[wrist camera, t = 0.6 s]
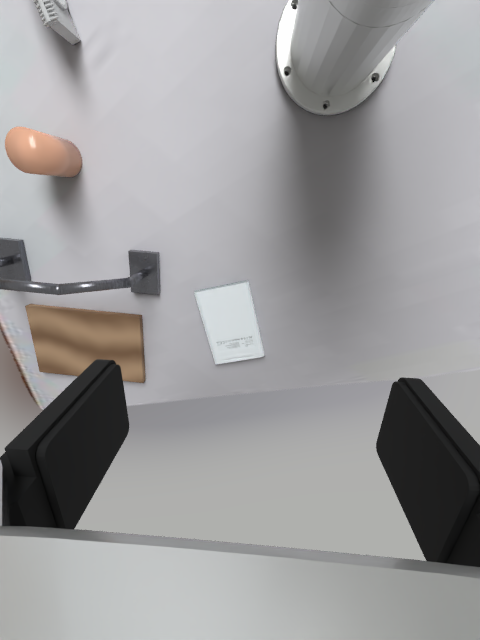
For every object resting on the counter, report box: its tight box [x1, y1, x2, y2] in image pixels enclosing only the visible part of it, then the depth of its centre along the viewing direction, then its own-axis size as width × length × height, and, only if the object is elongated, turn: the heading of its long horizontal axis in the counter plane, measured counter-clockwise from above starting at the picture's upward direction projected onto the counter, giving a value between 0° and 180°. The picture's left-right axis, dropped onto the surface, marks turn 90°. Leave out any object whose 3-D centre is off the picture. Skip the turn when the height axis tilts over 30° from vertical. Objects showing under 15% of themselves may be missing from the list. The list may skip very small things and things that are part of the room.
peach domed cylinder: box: [5, 127, 82, 177], centre depth 35 cm, size 4×4×7 cm
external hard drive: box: [194, 280, 264, 364], centre depth 45 cm, size 2×8×12 cm
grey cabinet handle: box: [0, 238, 160, 295], centre depth 38 cm, size 6×24×12 cm, turn 85°
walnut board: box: [25, 304, 145, 383], centre depth 48 cm, size 12×18×1 cm, turn 86°
